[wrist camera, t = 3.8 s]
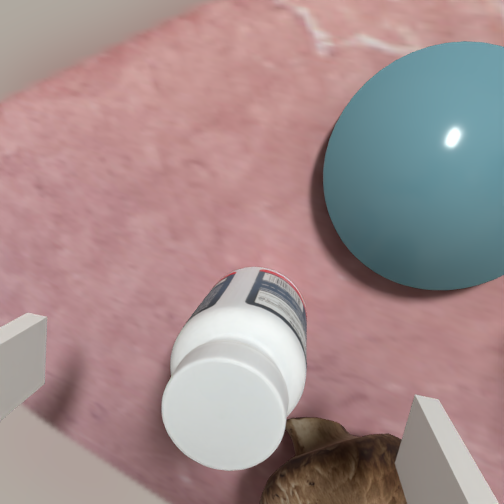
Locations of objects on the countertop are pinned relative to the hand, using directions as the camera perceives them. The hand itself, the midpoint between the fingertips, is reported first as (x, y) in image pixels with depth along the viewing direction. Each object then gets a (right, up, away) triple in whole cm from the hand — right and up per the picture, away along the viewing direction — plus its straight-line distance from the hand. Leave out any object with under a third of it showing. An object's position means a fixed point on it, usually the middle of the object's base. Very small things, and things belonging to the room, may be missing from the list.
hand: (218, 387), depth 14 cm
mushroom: (+6, -6, +8) cm, 12 cm away
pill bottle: (+1, +2, +7) cm, 8 cm away
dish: (+10, +8, +4) cm, 13 cm away
